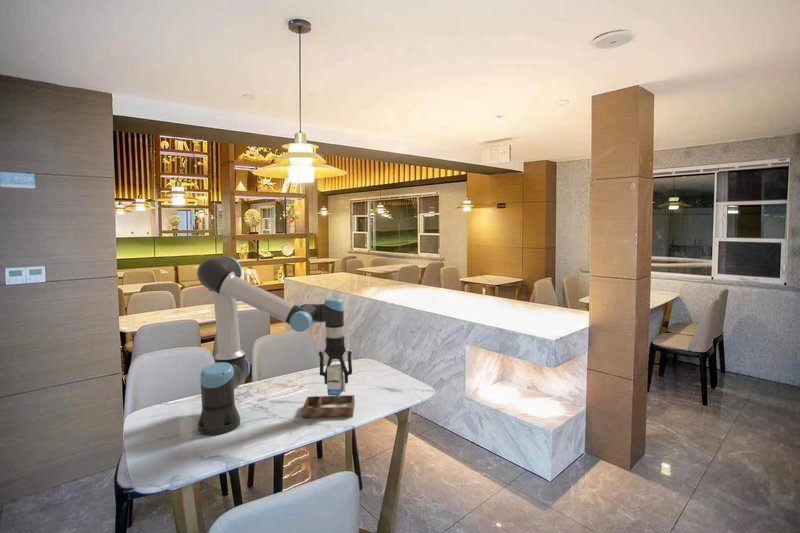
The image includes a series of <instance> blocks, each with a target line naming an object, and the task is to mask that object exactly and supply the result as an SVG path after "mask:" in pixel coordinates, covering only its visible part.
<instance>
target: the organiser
mask: <svg viewBox="0 0 800 533" xmlns="http://www.w3.org/2000/svg"><path fill="white" fill-rule="evenodd" d="M355 400H356V399H355V394H350V395H348V394H347V395H339V396H335V395H314V396H312V395H311V396H307V398H306V399H305V402H304V404H303V407H302V411H301V412H302V414H301V415H302V419H329V418H330V419H333V418H353V417H354V411H355V403H356V402H355Z"/></svg>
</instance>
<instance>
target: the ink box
mask: <svg viewBox="0 0 800 533" xmlns="http://www.w3.org/2000/svg"><path fill="white" fill-rule="evenodd" d="M326 367H327V381H328V391H327V396H341V394H342V393H344V392H343V375H344V372H343V369H342V366H341V363H340V361H332V362H331V364H330V365H329V366H327V365H326Z"/></svg>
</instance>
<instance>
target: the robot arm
mask: <svg viewBox="0 0 800 533" xmlns="http://www.w3.org/2000/svg"><path fill="white" fill-rule="evenodd" d="M242 273H243V270H242V266H241V263H240V262H239V261H238V260H237V259H235V258H234V257H232V256H224V255H222V256H218V257H211V258H207V259H205V260H203V261H202V262H201V263H200V264H199V266H198V268H197V270H196V276H197V280H198V282H199V283H200V284H201V285H202V286H203V287H205V288H206V289H208V292H209V293H211V294H212V296H213V305H214V315H215V317H214V319H215V328H216V338H217V339H216V341H217V351H218V353H217V354H216V355H215V356H214V363H212V364H208V365H207V366H204V367H203V369H202V370H201V371H200V378H199V383H200V396H201V413H200V415H199V418H198V419H199V420H198V422H197V431H198V433H200V434H202V435H205V434H207V436H214V435H217V436H218V435H221V434H222V433H223V434H227V433H229V432H232V431H233V430H235V429H237V428H238V427H239V426H240V425H241V416H240V414H239V411H238V409H237V406H236V403H235V390H236V389H237V388H238V387H239V386H240V385H241V384H243V383H244V382H245V381H246V379H247V377H248V376H249V374H250V370H251V369H250V368H251V366H250V362H249V361H248V359H247V358H246V353H245V352H246V351H243V350H242V349H241V336H240V328H239V326H240V325H239V314H238V303H237V302H238V301H239V302H242V303H244V304H246V305H248V306H250V307H252V308H254V309H257V310H259V311H261V312H263V313H264V314H266V315H269V316H270V317H273V318H276V319H277V320H279V321H281V322H284V323H286V324H288V325H290V327H291V329H292V330H293V331H295V332H297V333H303V332H305V331H307V330H308V329H310V328H311V327H312V325H313V324H314V323H315V324H316V323H324V324H325V336H326V337H325V349H324V350H319V352H318V356H319V376H323V378H324V379H323V380H324V385H326V386H327V391H326V392H328V381H327V366H329V365H330V364H331V363H332V362H333V361H332V360H338V362H340V363H341V366H342V369H343V372H344V375H343V392H342V393H346V390H347V389H346V388H347V387H346V385H347V384H348V383H349V376H350V375H353V374H352V373H353V365H352V363H353V362H352V353H353V350H352V349H347V348H346V345H345V336H344V335H345V323H344V322H345V319H344V318H345V315H344V310H345V309H344V301H343V299H341V298H339V297H332V298H331V297H330V298H326V299H325V300H324V303H301V304H297V305H296V304H294V303H292V302H290V301H288V300H286V299H283V298H282V297H279V296H278V295H275V294H273V293H271V292H269V291H268V290H266V289H263V288H261V287H259V286H257V285H256V284H253V283H250V282H249V281H247V280H245V279H243V278H241V277H242ZM237 300H238V301H237ZM345 353H346V354H345ZM344 354H345V355H347V365H348V369H347V366H346V362H345V359H344V358H343V357H344ZM325 355H327V356H328V360H327V364H326V368H324V363H325V361H324V360H325V359H324V358H325ZM324 369H325V371H324Z"/></svg>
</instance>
